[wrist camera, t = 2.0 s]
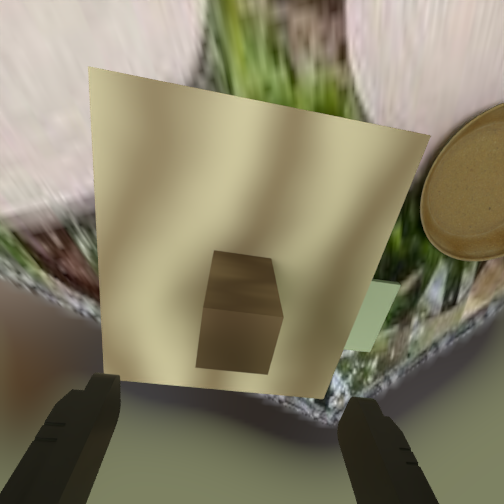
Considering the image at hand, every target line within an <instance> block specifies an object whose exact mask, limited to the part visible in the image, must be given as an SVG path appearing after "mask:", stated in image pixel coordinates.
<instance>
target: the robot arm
mask: <svg viewBox="0 0 504 504" xmlns="http://www.w3.org/2000/svg"><path fill="white" fill-rule="evenodd" d="M120 402H121V399H120V375H116V374H104V373H95V374H93V376H92V377H91V379H90V380H89V382H88V384H87V386H86V388H85V390H73V389H72V390H71V391H70V392H69V393H68V394H66V396H64V397H63V398H62V399H61V400H60V401H59V402H57V403H56V404H55V406H54V408H53V409H52V411H51V412H50V414H49V416H48V417H47V419H46V420H45V423H44V425H43V426H42V427H41V429H40V430H39V432H38V434H37V435H36V437H35V440H34V441H32V443H31V445H30V446H29V448H28V450H27V451H26V453H25V454H24V456H23V458H22V459H21V461H20V463H19V464H18V466H17V467H16V469H15V471H14V472H13V474H12V475H11V477H10V479H9V480H8V482H7V484H6V485H5V487H4V488H3V490H2V491H1V493H0V504H86V502H87V499H88V497H89V494H90V492H91V489H92V487H93V484H94V481H95V479H96V476H97V474H98V471H99V468H100V466H101V463H102V461H103V458H104V455H105V453H106V450H107V448H108V445H109V442H110V440H111V437H112V435H113V432H114V429H115V427H116V424H117V421H118V417H119V413H120V406H121V403H120ZM337 434H338V441H339V445H340V448H341V452H342V454H343V458H344V461H345V465H346V468H347V471H348V475H349V478H350V481H351V484H352V488H353V491H354V494H355V497H356V501H357V504H439V503H438V501H437V499H436V497H435V495H434V493H433V491H432V489H431V487H430V485H429V483H428V481H427V479H426V477H425V476H424V473H423V471H422V470H421V468H420V467H419V466H418V462H417V460H416V458H415V456H414V454H413V452H411V448H410V446H409V444H408V442H407V440H406V439H405V436H404V434H403V432H402V431H401V430H400V429H399V428H398V426H397V425H396V424H395V423H394V422H393V420H392V419H391V418H390V417H387V416H384V415H383V414H382V411H381V409H380V407H379V405H378V403H377V402H376V401H375V400H374V399H372V398H361V397H351V398H350V400H349V402H348V404H347V406H346V408H345V410H344V413H343V415H342V417H341V419H340V421H339V424H338V430H337Z"/></svg>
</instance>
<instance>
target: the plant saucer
mask: <svg viewBox="0 0 504 504" xmlns="http://www.w3.org/2000/svg"><path fill="white" fill-rule="evenodd" d="M420 216H421V222H422V226H423V229H424V232H425V234H426V236H427V238H428V239H429V241H430V242H431V243H432V245H434V247H435V248H436V249H438V250H439V251H440V252H442V253H443V254H445V255H447V256H449V257H452V258H455V259H459V260H463V261H486V260H491V259H495V258H499V257H503V256H504V103H502V104H500V105H497V106H495V107H493V108H491V109H489V110H487V111H486V112H484V113H482V114H480V115H479V116H477V117H476V118H474V119H473V120H472V121H470V122H469V123H467V124H466V125H465V126H464V127H463V128H462V129H461V130H460V131H458V132H457V133H456V134H455V135H454V136H453V137H452V139H451V140H450V141H449V142H448V143H447V144H446V145H445V147H444V148H443V149H442V151H441V152H440V153H439V155H438V156H437V158H436V159H435V161H434V163H433V165H432V166H431V168H430V170H429V173H428V175H427V178H426V180H425V183H424V186H423V190H422V195H421V202H420Z"/></svg>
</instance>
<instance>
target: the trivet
mask: <svg viewBox="0 0 504 504" xmlns="http://www.w3.org/2000/svg"><path fill="white" fill-rule="evenodd" d="M400 286H401V285H400V284H399V283H398V282H393V281H386V280H379V279H372V281H371V283H370V286H369V288H368V291H367V293H366V296H365V298H364V300H363V303H362V305H361V308H360V310H359V313H358V315H357V318H356V320H355V322H354V325H353V327H352V330H351V332H350V335H349V337H348V340H347V342H346V344H345V347H344V349H346V350H355V351H364V352H370V351H371V349H372V347H373V344H374V342H375V340H376V338H377V336H378V334H379V331H380V329H381V327H382V325H383V323H384V321H385V318H386V316H387V314H388V312H389V310H390V308H391V305H392V303H393V301H394V299H395V297H396V295H397V292H398V290H399V288H400Z"/></svg>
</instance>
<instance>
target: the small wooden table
mask: <svg viewBox="0 0 504 504" xmlns="http://www.w3.org/2000/svg"><path fill="white" fill-rule="evenodd" d="M88 74H89V93H90V113H91V132H92V151H93V170H94V190H95V209H96V228H97V247H98V266H99V286H100V305H101V324H102V343H103V362H104V374H116V375H120V380H122V381H133V382H143V383H154V384H166V385H176V386H187V387H199V388H208V389H219V390H230V391H241V392H252V393H263V394H274V395H284V396H295V397H306V398H317V399H323V398H324V396H325V393H326V391H327V388H328V386H329V384H330V381H331V379H332V376H333V374H334V371H335V369H336V366H337V364H338V362H339V359H340V357H341V354H342V352H343V349H344V347H345V344H346V342H347V340H348V337H349V335H350V332H351V330H352V327H353V325H354V322H355V320H356V318H357V315H358V313H359V310H360V308H361V305H362V303H363V300H364V298H365V296H366V293H367V291H368V288H369V286H370V283H371V281H372V278H373V276H374V274H375V271H376V269H377V266H378V264H379V261H380V259H381V256H382V254H383V252H384V249H385V247H386V244H387V242H388V239H389V237H390V234H391V232H392V230H393V227H394V225H395V222H396V220H397V217H398V215H399V212H400V210H401V207H402V205H403V203H404V200H405V198H406V195H407V193H408V190H409V188H410V185H411V183H412V181H413V178H414V176H415V173H416V171H417V168H418V166H419V163H420V161H421V159H422V156H423V154H424V151H425V149H426V146H427V144H428V141H429V139H430V137H431V136H430V135H426V134H421V133H416V132H411V131H406V130H401V129H396V128H391V127H386V126H381V125H376V124H371V123H366V122H361V121H356V120H351V119H346V118H341V117H336V116H331V115H326V114H322V113H317V112H312V111H307V110H302V109H297V108H292V107H287V106H282V105H277V104H272V103H267V102H262V101H257V100H252V99H247V98H242V97H237V96H232V95H227V94H223V93H218V92H213V91H208V90H203V89H198V88H193V87H188V86H183V85H178V84H173V83H168V82H163V81H158V80H153V79H148V78H143V77H138V76H133V75H128V74H123V73H119V72H114V71H109V70H104V69H99V68H94V67H89V66H88Z"/></svg>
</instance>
